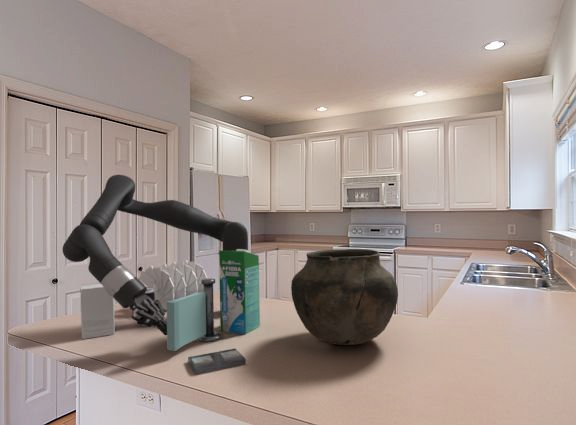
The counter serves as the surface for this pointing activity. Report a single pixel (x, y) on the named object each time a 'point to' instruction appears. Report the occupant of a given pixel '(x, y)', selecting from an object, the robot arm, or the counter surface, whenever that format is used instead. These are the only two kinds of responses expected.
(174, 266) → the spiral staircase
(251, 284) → the milk carton
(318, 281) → the pot
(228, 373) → the counter surface
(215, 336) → the post
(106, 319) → the supplement box
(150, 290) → the beverage can
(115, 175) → the robot arm
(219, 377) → the counter surface
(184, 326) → the swing panel
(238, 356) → the tray
